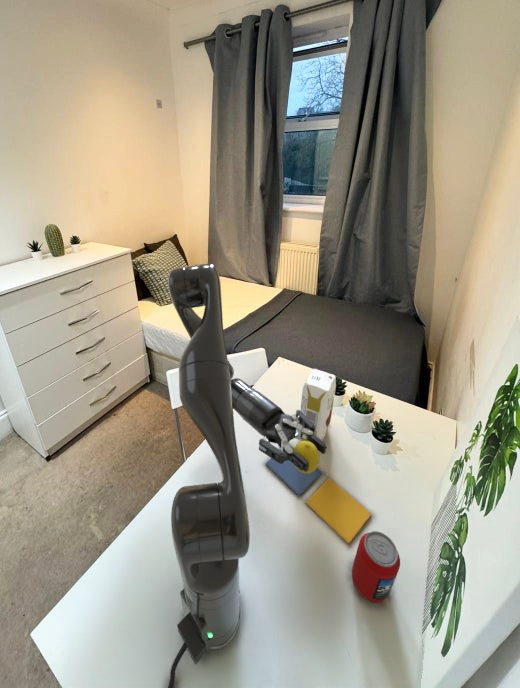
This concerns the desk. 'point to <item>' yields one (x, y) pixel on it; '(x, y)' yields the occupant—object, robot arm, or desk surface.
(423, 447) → the desk surface
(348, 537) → the mustard mat
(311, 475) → the slate mat
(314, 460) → the lemon
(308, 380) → the juice carton
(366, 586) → the beverage can
